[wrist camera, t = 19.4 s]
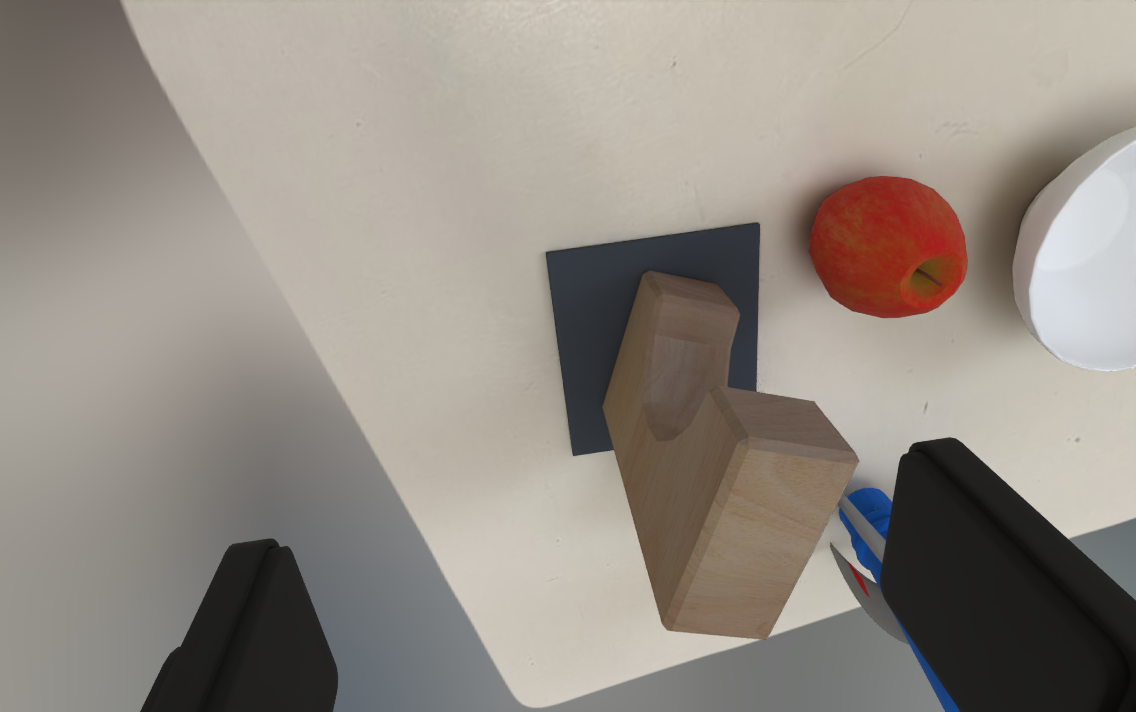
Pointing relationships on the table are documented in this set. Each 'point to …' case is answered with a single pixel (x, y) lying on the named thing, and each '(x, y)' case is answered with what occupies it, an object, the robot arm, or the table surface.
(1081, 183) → the bowl
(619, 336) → the mat
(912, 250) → the apple
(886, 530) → the toy rocket
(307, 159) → the table surface
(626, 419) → the decorative block
